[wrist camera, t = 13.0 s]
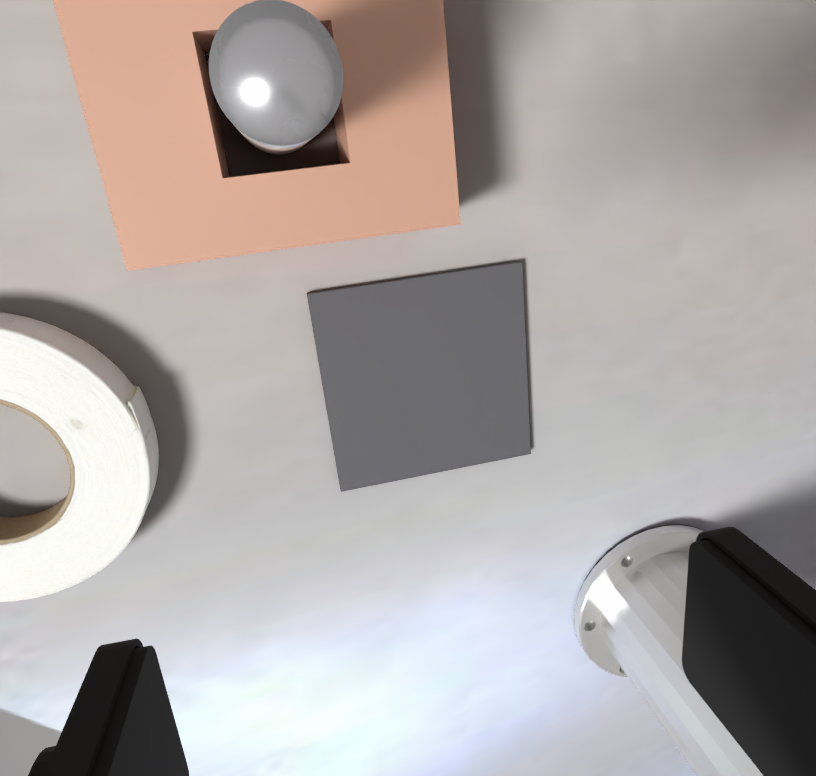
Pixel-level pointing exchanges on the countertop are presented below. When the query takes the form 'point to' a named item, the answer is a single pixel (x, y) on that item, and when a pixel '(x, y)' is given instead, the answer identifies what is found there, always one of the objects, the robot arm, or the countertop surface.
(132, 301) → the countertop surface
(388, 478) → the rubber mat
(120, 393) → the roll of tape
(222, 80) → the steel pin
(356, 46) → the hole block
